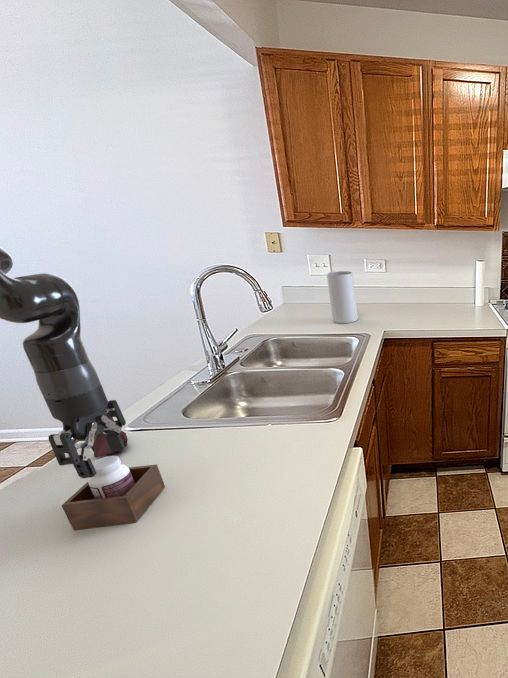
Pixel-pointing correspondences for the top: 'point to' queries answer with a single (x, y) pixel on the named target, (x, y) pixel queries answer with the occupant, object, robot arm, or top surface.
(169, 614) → the top surface
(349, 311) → the cylinder vase
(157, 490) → the box
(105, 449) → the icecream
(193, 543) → the top surface
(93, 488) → the pill bottle
